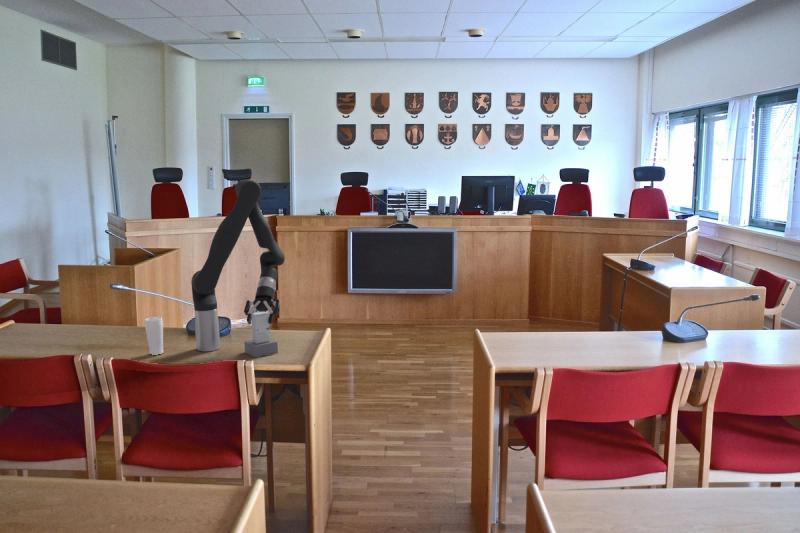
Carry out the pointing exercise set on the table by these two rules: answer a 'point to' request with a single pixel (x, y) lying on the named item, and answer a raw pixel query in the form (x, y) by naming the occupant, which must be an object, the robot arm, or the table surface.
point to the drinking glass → (154, 334)
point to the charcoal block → (260, 348)
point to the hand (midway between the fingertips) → (259, 323)
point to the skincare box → (260, 327)
